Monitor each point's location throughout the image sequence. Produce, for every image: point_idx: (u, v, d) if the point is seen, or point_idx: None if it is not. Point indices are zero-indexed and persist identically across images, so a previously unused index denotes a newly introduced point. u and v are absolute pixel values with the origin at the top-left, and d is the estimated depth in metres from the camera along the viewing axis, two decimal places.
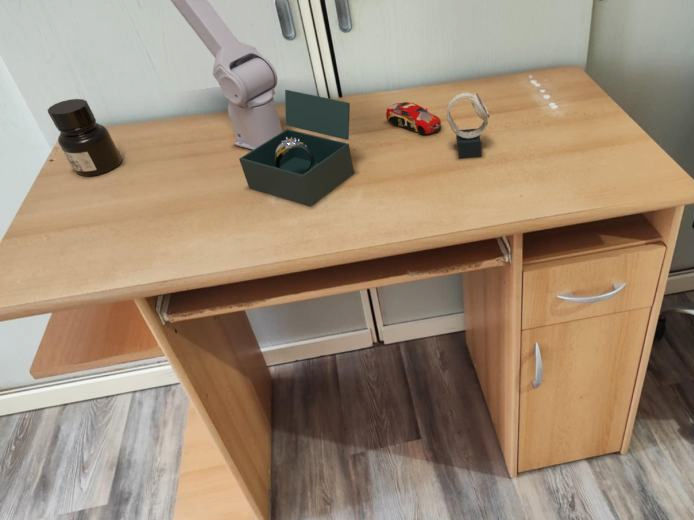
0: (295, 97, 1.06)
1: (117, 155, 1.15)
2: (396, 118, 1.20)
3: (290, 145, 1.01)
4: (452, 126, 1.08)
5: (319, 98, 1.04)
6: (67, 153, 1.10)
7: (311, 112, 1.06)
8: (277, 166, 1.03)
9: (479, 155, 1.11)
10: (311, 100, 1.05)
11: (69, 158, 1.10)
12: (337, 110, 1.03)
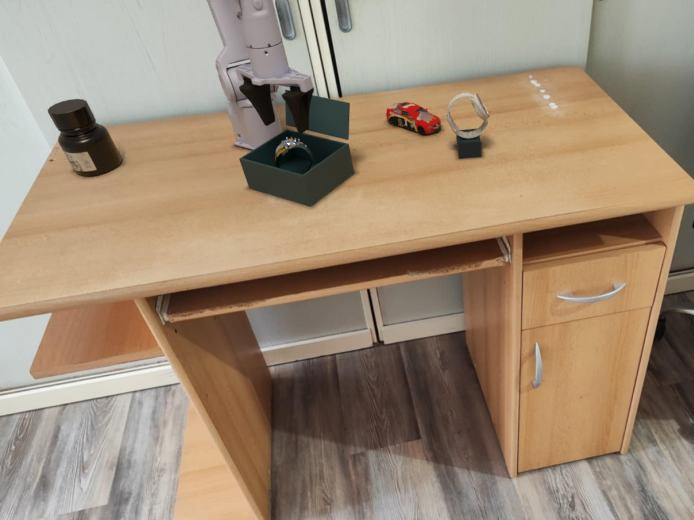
0: None
1: (117, 155, 1.15)
2: (396, 118, 1.20)
3: (290, 145, 1.01)
4: (452, 126, 1.08)
5: (319, 98, 1.04)
6: (67, 153, 1.10)
7: (311, 112, 1.06)
8: (277, 166, 1.03)
9: (479, 155, 1.11)
10: (311, 100, 1.05)
11: (69, 158, 1.10)
12: (337, 110, 1.03)
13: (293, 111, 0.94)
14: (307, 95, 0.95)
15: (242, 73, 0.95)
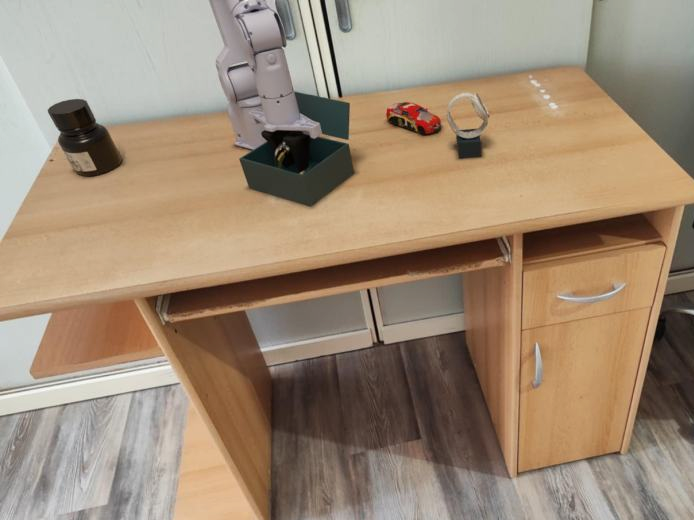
0: None
1: (117, 155, 1.15)
2: (396, 118, 1.20)
3: None
4: (452, 126, 1.08)
5: (319, 98, 1.04)
6: (67, 153, 1.10)
7: (311, 112, 1.06)
8: None
9: (479, 155, 1.11)
10: (311, 100, 1.05)
11: (69, 158, 1.10)
12: (337, 110, 1.03)
13: (294, 152, 1.01)
14: (307, 137, 1.01)
15: (255, 118, 1.00)
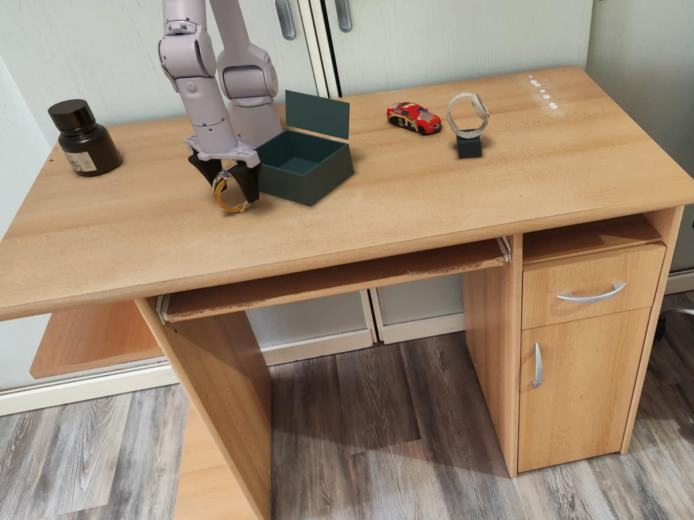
0: (295, 97, 1.06)
1: (117, 155, 1.15)
2: (396, 118, 1.21)
3: (229, 175, 0.96)
4: (452, 126, 1.08)
5: (319, 98, 1.04)
6: (67, 153, 1.10)
7: (311, 112, 1.06)
8: (218, 199, 0.97)
9: (479, 155, 1.11)
10: (311, 100, 1.05)
11: (69, 158, 1.10)
12: (337, 110, 1.03)
13: (241, 184, 0.94)
14: (255, 168, 0.94)
15: (190, 145, 0.95)
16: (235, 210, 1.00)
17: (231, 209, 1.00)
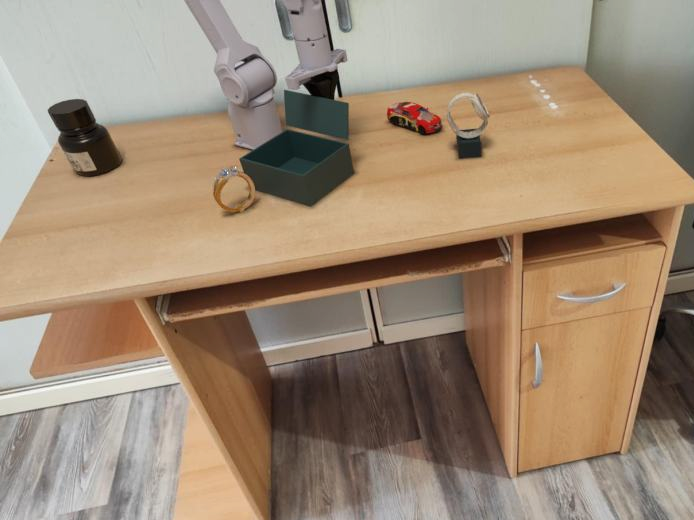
0: (294, 97, 1.06)
1: (117, 155, 1.15)
2: (397, 118, 1.21)
3: (229, 175, 0.96)
4: (452, 126, 1.08)
5: (318, 98, 1.03)
6: (67, 153, 1.10)
7: (310, 112, 1.05)
8: (218, 199, 0.97)
9: (479, 155, 1.11)
10: (310, 100, 1.04)
11: (69, 158, 1.10)
12: (336, 110, 1.03)
13: (333, 91, 1.05)
14: None
15: (302, 78, 0.98)
16: (235, 210, 1.00)
17: (231, 209, 1.00)
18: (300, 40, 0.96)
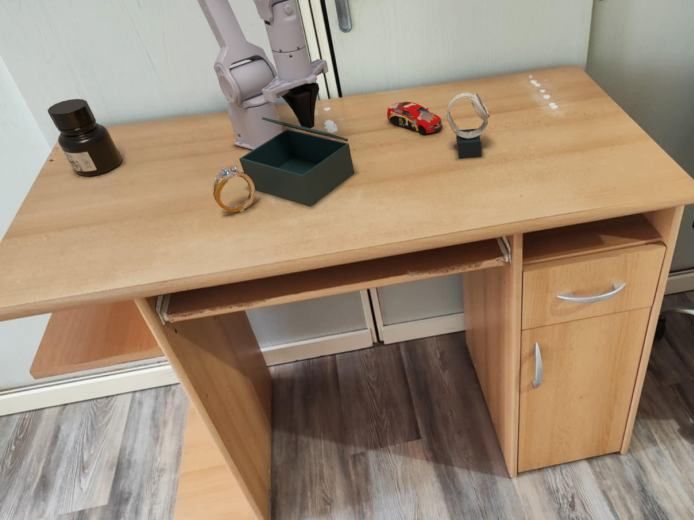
0: (275, 122, 1.04)
1: (117, 155, 1.15)
2: (397, 118, 1.21)
3: (229, 175, 0.96)
4: (452, 126, 1.08)
5: (297, 127, 1.01)
6: (67, 153, 1.10)
7: (299, 129, 1.04)
8: (218, 199, 0.97)
9: (479, 155, 1.11)
10: (291, 126, 1.03)
11: (69, 158, 1.10)
12: (320, 133, 1.01)
13: (313, 103, 1.01)
14: None
15: (280, 90, 0.95)
16: (235, 210, 1.00)
17: (231, 209, 1.00)
18: (277, 51, 0.93)
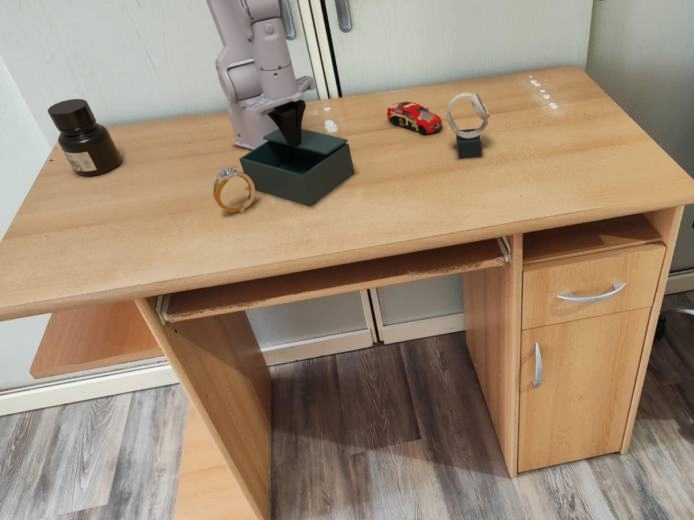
0: None
1: (117, 155, 1.15)
2: (397, 118, 1.21)
3: (229, 175, 0.96)
4: (452, 126, 1.08)
5: None
6: (67, 153, 1.10)
7: None
8: (218, 199, 0.97)
9: (479, 155, 1.11)
10: None
11: (69, 158, 1.10)
12: None
13: (300, 121, 1.00)
14: None
15: (264, 108, 0.93)
16: (235, 210, 1.00)
17: (231, 209, 1.00)
18: (262, 69, 0.92)
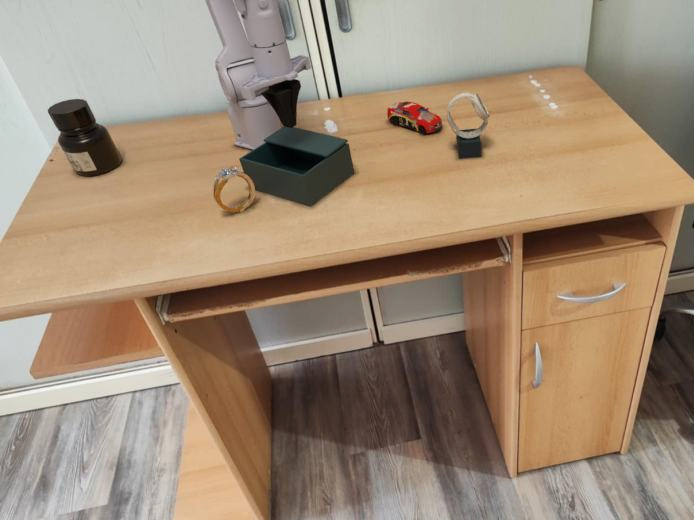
0: None
1: (117, 155, 1.15)
2: (397, 117, 1.21)
3: (229, 175, 0.96)
4: (452, 126, 1.08)
5: (298, 149, 1.03)
6: (67, 153, 1.10)
7: None
8: (218, 199, 0.97)
9: (479, 155, 1.11)
10: None
11: (69, 158, 1.10)
12: None
13: (295, 101, 0.98)
14: None
15: (258, 87, 0.91)
16: (235, 210, 1.00)
17: (231, 209, 1.00)
18: (255, 47, 0.89)
